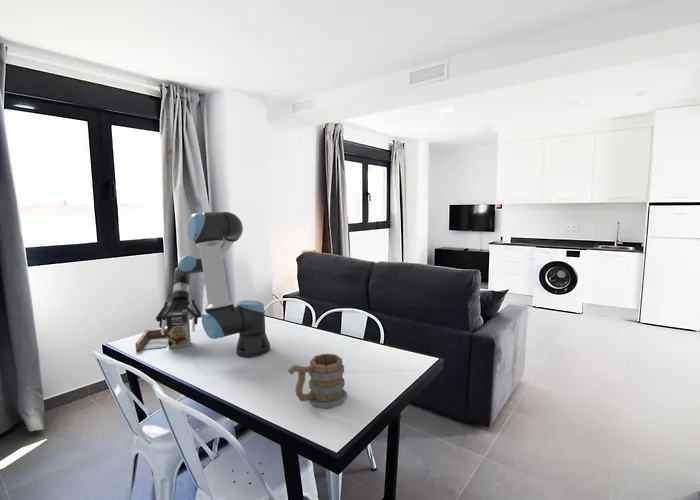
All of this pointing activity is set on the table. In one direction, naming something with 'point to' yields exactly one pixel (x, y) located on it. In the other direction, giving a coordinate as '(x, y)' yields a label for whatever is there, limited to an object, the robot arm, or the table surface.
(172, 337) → the coffee box
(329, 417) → the table surface
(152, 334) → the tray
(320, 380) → the tankard
